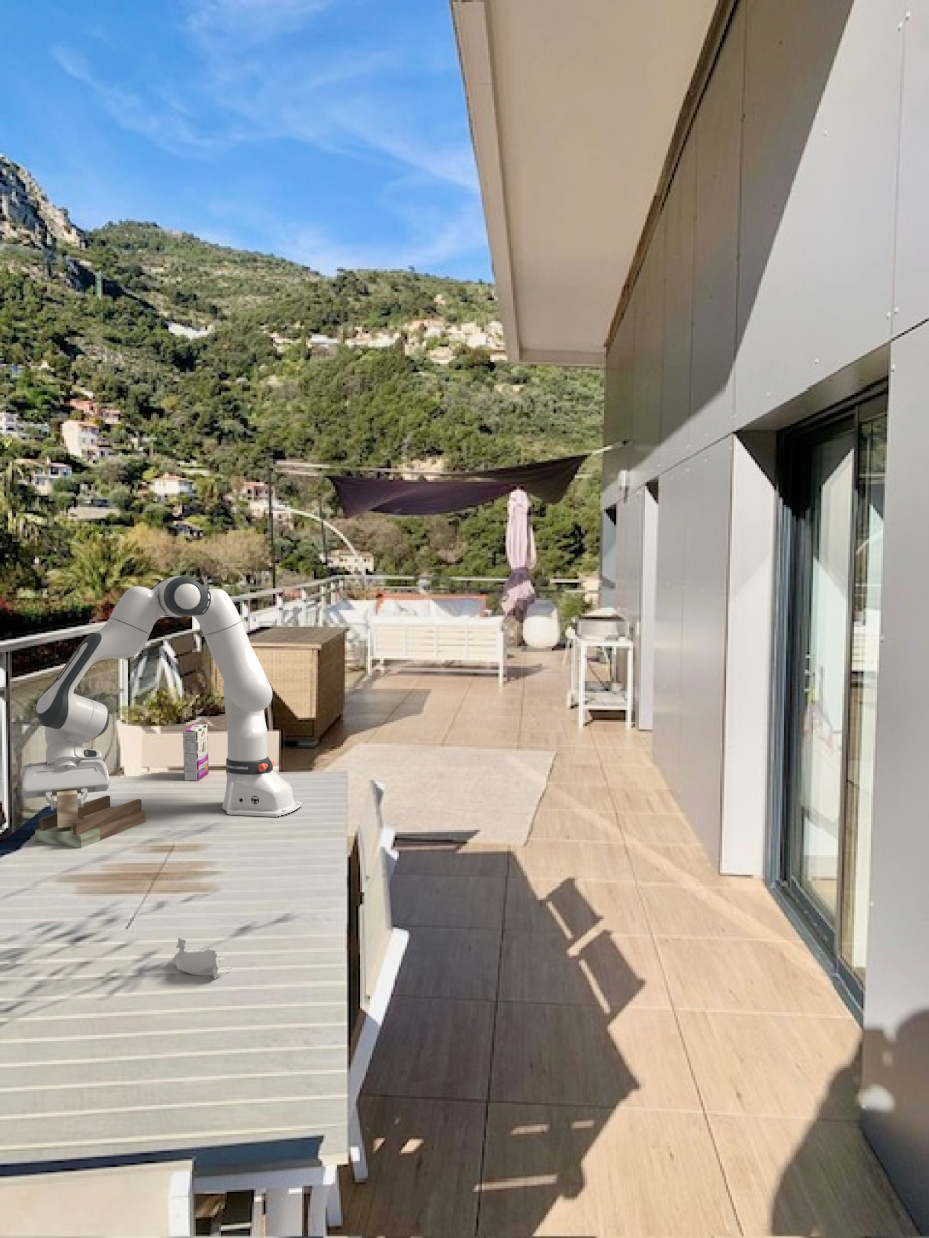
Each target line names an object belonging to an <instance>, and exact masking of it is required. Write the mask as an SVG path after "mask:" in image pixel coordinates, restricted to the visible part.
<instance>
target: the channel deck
mask: <svg viewBox="0 0 929 1238" xmlns="http://www.w3.org/2000/svg"><path fill="white" fill-rule="evenodd" d="M142 807H143V806H142V799H140V798H136V799H134V800H131V801H128V802H125V803H122V804H119V805H117V806H111V795H104V796H101V797H98V798H95V799H92V800H89V801H87V802H83V807H81V808H78V821H76V822H73V826H71V827H61V828H58V824H57V812H54V813H51V814H49V815H45V816H43V817H39V818H38V820H39V822H38V823H39V824H38V825H39V828H36V829H35V830H34V831H35V833H34V838H35V839H34V840H35V842H36V843H42V844H49V845H55V846H56V845H57V846H63V847H71V848H78V849H83V848H85V847H88V846H89V845H92V844H94V843H97V842H100V841H102V840H105V839H107V838H110V837H111V836H114V835H116V834H119V833H122V832H123V831H126V830H129V829H132V828H134V827H136V826H138V825H141V824H144V823H146V822H147V821H146V820H147V819H146V815H147V814H146V813H147V812H146V810H142V809H143V808H142Z"/></svg>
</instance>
